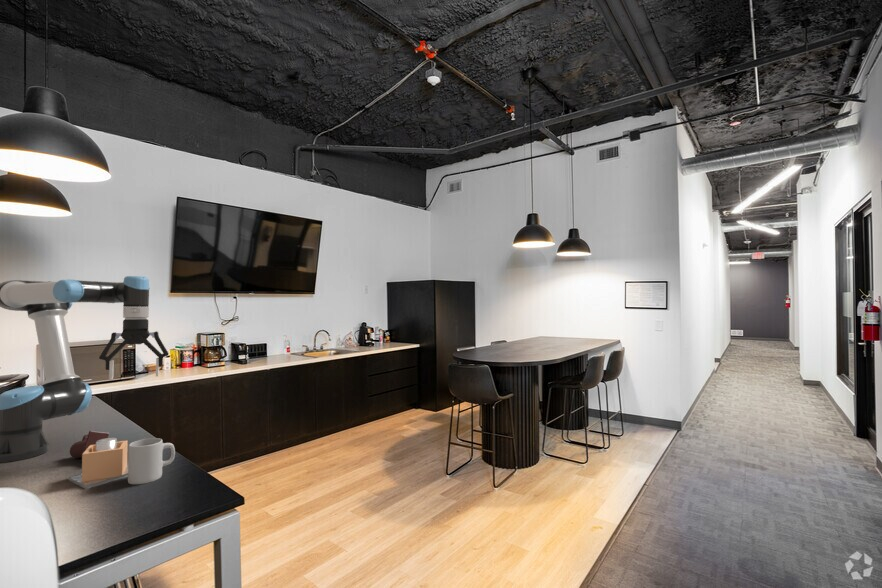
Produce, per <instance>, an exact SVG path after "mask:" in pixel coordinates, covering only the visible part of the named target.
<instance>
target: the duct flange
mask: <svg viewBox="0 0 882 588" xmlns="http://www.w3.org/2000/svg"><path fill="white" fill-rule="evenodd" d="M117 442H118V439H117V437H108V438H106V439H101V440H98V441H96V451H104V450H111V449H117ZM124 478H128V463H127V467H126V469H125V471H124V473H123V475H122V476H116V477H110V478H104V479H97V480H91V481H85V482H82V473H80V474H76V475H73V476H72V475H71V476H69V477H68V481H69V482H71V483H73V484H74V485H77V486H78V487H80V488H82V489H85V490H87V489H90V488H94V487H97V486H101V485H105V484H108V483H111V482H114V481H118V480H121V479H124Z"/></svg>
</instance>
